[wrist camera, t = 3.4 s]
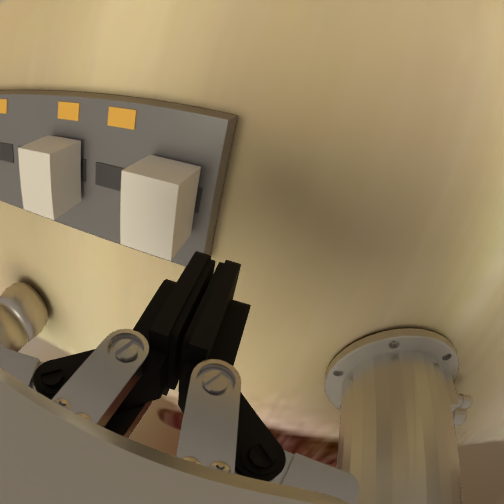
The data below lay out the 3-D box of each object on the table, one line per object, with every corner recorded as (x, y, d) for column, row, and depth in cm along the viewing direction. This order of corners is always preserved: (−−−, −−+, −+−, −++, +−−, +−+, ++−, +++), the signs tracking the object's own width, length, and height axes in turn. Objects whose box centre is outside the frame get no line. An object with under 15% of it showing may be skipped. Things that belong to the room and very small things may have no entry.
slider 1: (80, 140, 17) (49, 154, 15) (81, 201, 20) (54, 220, 17) (48, 135, 18) (18, 147, 15) (50, 191, 20) (23, 209, 17)
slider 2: (201, 166, 17) (178, 184, 14) (190, 234, 19) (170, 261, 17) (149, 154, 17) (121, 170, 15) (144, 220, 19) (120, 243, 17)
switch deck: (237, 115, 17) (227, 120, 16) (210, 255, 23) (200, 272, 21) (-17, 90, 19) (-33, 95, 17) (-12, 182, 24) (-26, 190, 22)
